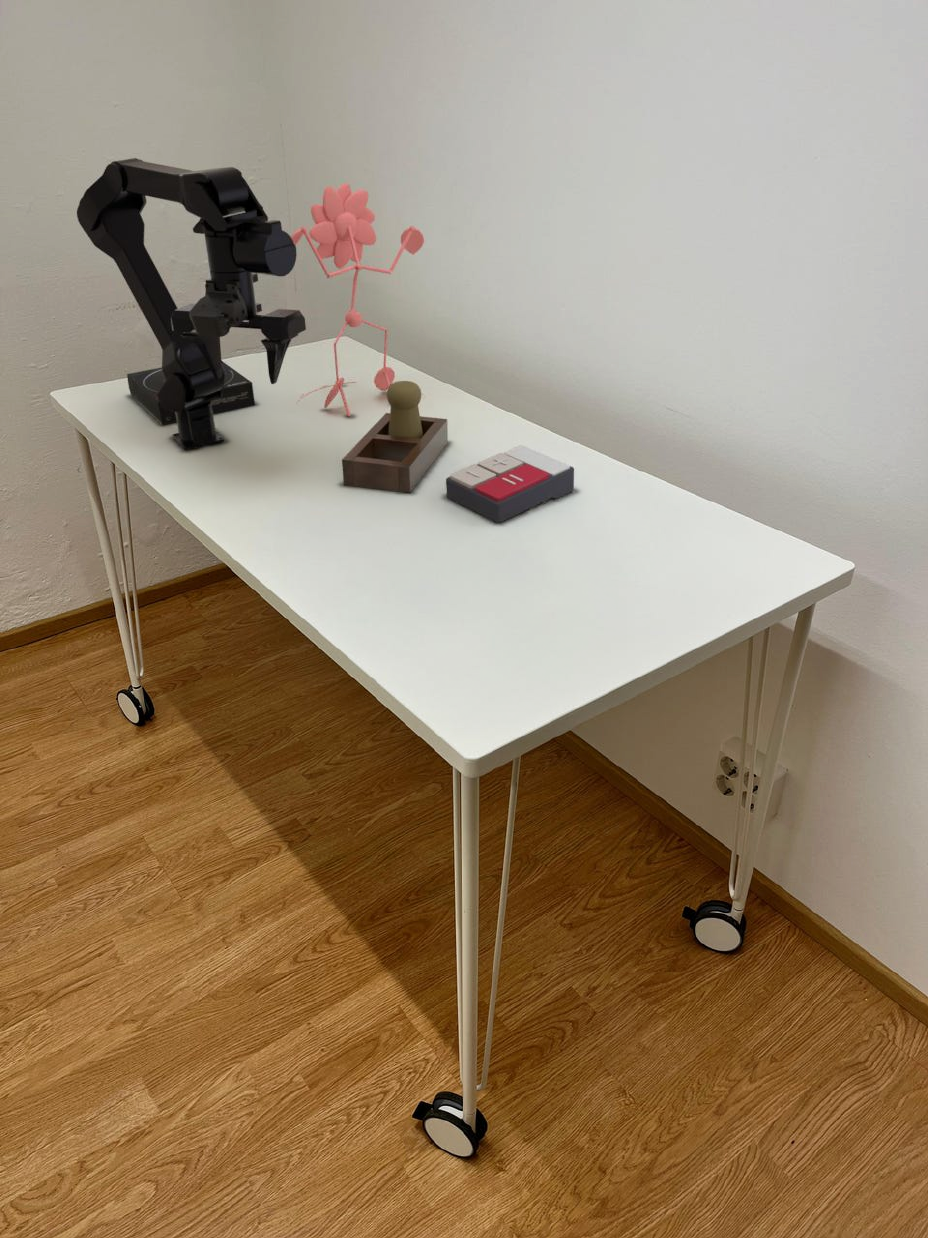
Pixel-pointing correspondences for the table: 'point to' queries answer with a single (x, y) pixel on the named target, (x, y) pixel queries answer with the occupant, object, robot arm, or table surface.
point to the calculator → (510, 483)
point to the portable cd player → (145, 393)
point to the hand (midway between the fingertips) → (245, 380)
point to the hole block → (394, 456)
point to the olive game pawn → (404, 410)
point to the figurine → (343, 237)
